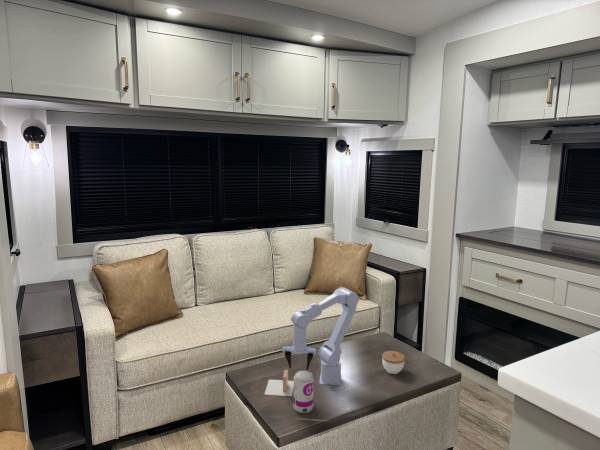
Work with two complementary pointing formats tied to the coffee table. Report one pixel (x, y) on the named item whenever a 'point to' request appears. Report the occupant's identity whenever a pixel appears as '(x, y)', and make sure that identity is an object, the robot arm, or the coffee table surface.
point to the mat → (279, 388)
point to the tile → (285, 380)
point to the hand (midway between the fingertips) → (298, 368)
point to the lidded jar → (393, 361)
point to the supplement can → (303, 391)
